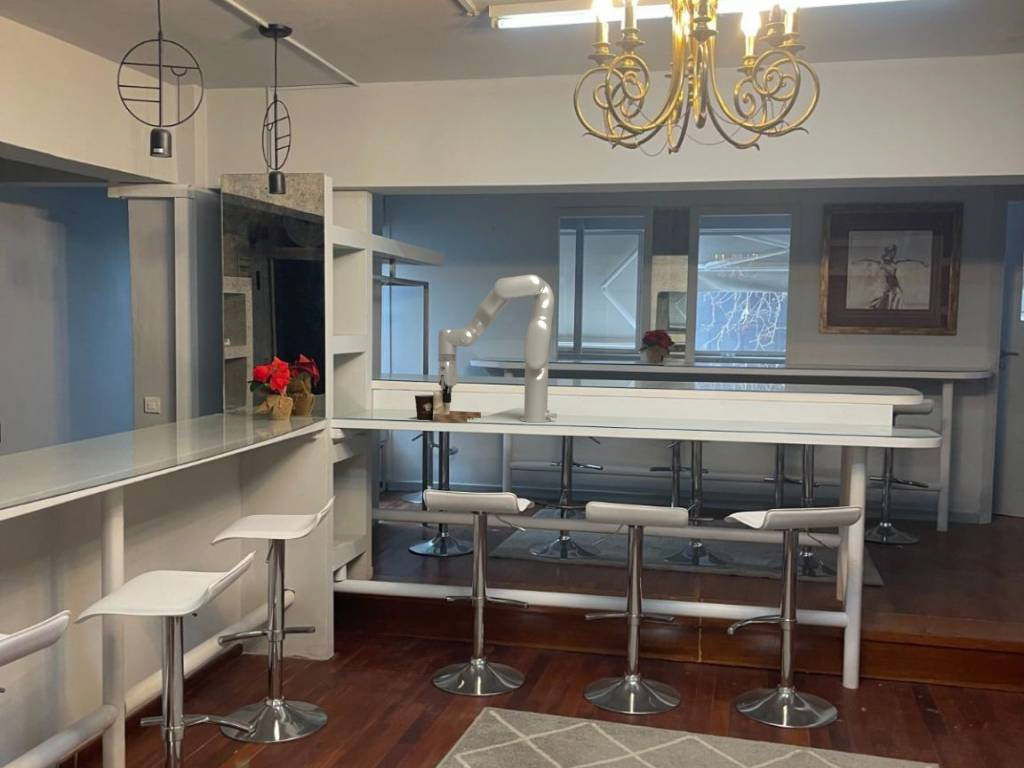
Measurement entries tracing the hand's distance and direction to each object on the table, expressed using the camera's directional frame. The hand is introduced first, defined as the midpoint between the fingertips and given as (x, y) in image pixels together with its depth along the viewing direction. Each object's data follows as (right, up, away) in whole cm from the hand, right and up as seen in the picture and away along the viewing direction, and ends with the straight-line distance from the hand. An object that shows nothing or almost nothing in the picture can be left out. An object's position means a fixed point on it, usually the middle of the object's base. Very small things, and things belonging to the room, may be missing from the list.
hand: (446, 402), depth 398 cm
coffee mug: (-8, -7, +1) cm, 11 cm away
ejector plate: (-2, -7, +1) cm, 8 cm away
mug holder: (+5, -7, -1) cm, 9 cm away
